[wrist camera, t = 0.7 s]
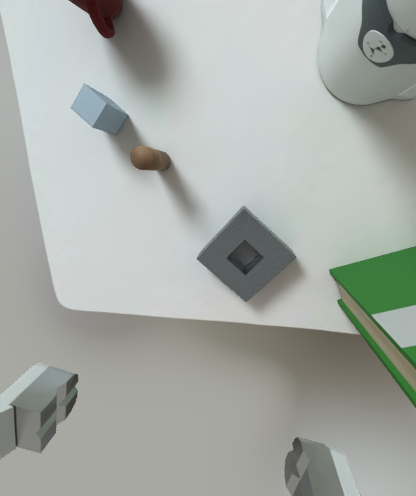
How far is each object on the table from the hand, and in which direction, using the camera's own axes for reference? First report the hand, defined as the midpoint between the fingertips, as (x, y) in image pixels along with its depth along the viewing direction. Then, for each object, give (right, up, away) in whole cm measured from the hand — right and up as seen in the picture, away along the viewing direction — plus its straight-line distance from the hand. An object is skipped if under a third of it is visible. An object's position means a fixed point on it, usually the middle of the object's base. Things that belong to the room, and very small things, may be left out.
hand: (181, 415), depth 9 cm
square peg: (-15, +29, +33) cm, 46 cm away
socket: (+8, +6, +36) cm, 38 cm away
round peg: (-7, +21, +34) cm, 41 cm away
